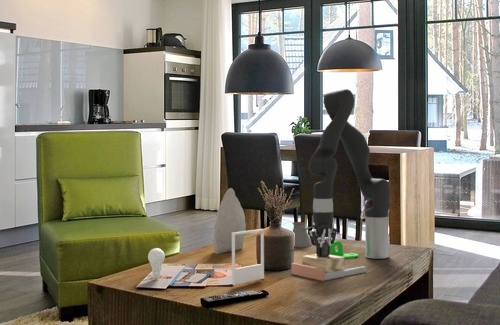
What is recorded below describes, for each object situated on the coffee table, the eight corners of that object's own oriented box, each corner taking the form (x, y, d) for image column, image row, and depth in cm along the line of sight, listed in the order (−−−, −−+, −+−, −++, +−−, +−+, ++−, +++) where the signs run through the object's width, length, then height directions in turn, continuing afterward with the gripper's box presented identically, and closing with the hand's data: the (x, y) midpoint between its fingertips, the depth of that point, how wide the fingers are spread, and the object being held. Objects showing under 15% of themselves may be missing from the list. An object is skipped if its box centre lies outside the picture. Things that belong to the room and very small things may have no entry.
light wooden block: (320, 268, 236) (320, 240, 236) (344, 273, 227) (344, 243, 226) (302, 271, 229) (302, 242, 229) (325, 276, 220) (325, 246, 220)
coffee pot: (281, 250, 282) (281, 218, 281) (298, 247, 290) (298, 216, 289) (317, 256, 266) (317, 221, 266) (333, 252, 274) (333, 219, 274)
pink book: (334, 265, 244) (334, 255, 244) (365, 271, 232) (365, 261, 231) (291, 273, 229) (291, 263, 229) (322, 280, 216) (322, 269, 216)
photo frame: (261, 278, 222) (261, 228, 221) (264, 278, 221) (263, 229, 221) (231, 284, 212) (231, 232, 212) (233, 284, 211) (233, 233, 211)
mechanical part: (336, 262, 253) (336, 243, 253) (329, 259, 258) (329, 241, 258) (361, 259, 258) (361, 241, 258) (353, 257, 263) (353, 239, 263)
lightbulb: (167, 277, 224) (167, 247, 224) (160, 280, 218) (159, 250, 218) (153, 276, 226) (152, 246, 226) (145, 279, 220) (144, 249, 220)
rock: (220, 259, 259) (220, 189, 258) (206, 257, 265) (205, 188, 264) (252, 253, 273) (251, 187, 272) (237, 251, 279) (237, 186, 278)
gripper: (328, 208, 235) (328, 252, 235) (302, 210, 226) (302, 257, 226) (343, 209, 229) (343, 255, 230) (317, 212, 220) (317, 260, 221)
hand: (323, 256), depth 228 cm, fingers closed on light wooden block, 3 cm apart
